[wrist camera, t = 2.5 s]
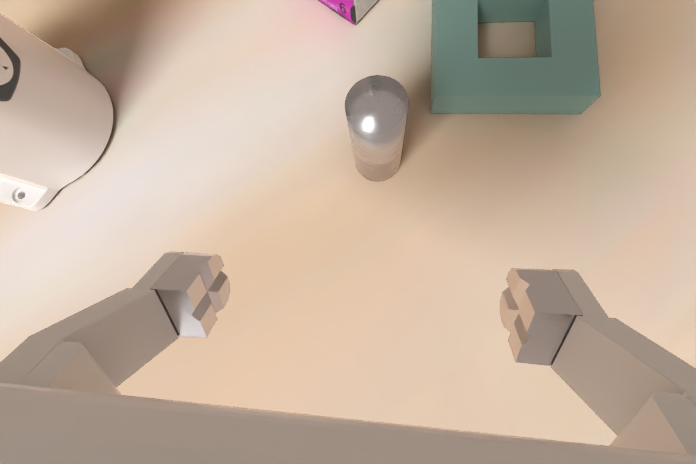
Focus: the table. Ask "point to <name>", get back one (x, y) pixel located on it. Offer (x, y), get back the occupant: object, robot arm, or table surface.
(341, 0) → the candy bar box
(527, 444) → the robot arm
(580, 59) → the block
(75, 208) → the table surface
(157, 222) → the table surface
